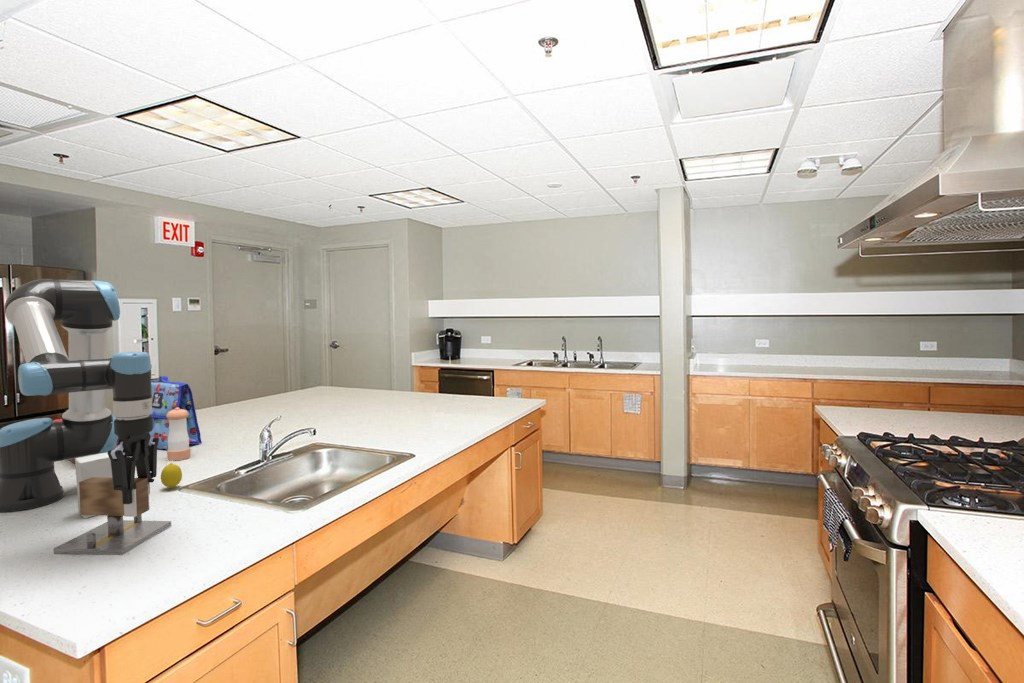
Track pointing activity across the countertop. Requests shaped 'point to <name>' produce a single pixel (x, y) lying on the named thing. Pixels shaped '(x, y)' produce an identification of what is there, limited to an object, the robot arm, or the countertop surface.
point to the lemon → (171, 475)
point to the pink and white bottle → (178, 435)
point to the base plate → (113, 537)
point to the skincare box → (92, 470)
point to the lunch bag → (168, 399)
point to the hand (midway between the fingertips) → (137, 512)
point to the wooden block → (109, 497)
